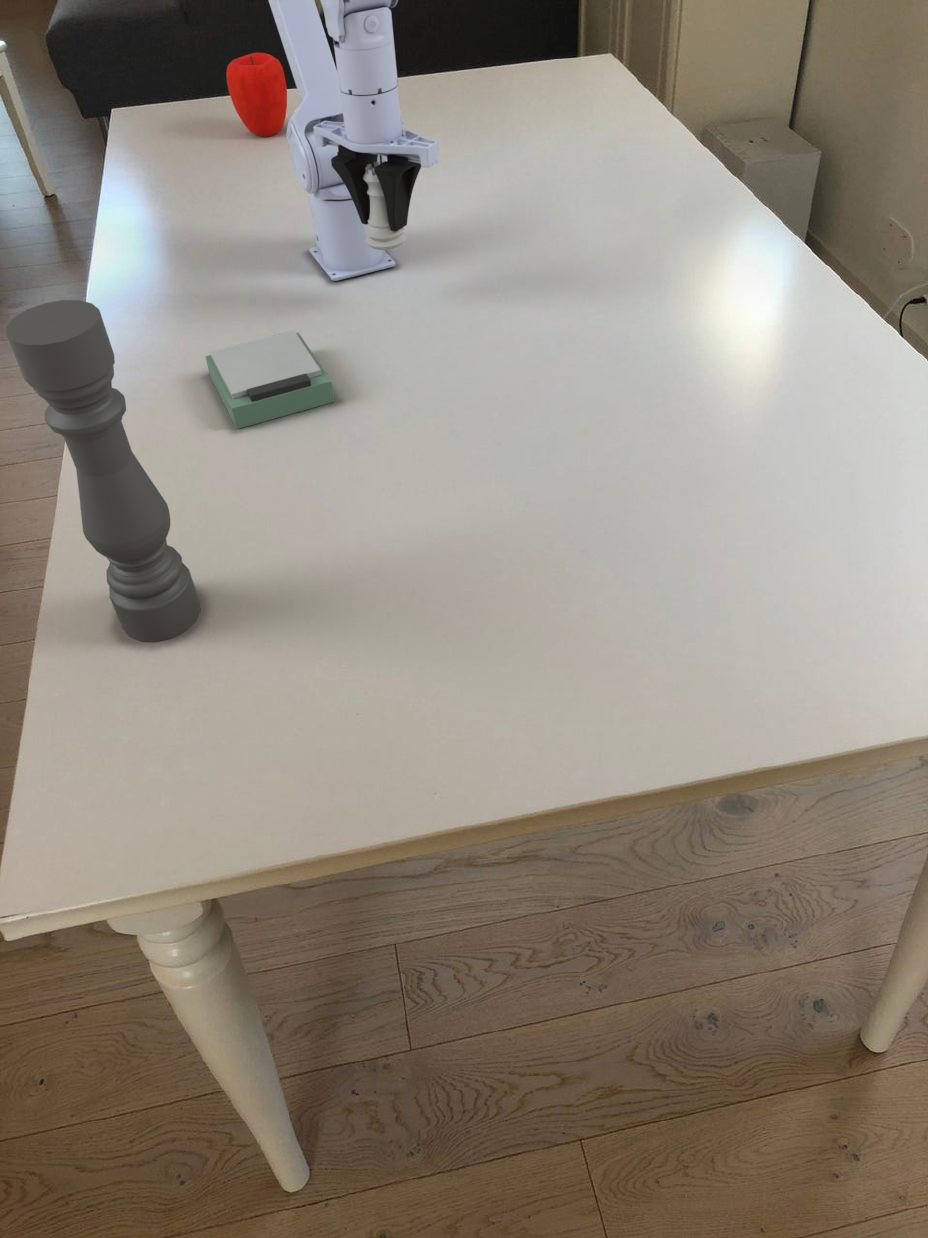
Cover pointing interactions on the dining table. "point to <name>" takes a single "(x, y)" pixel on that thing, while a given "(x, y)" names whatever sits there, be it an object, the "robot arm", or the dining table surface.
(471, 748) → the dining table surface
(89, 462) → the candle holder
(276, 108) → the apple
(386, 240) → the rook chess piece
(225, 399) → the scale
